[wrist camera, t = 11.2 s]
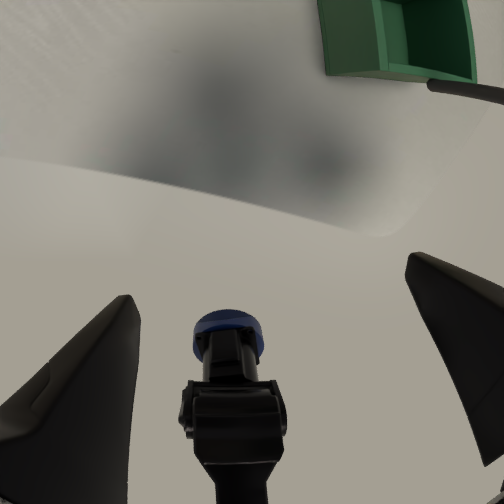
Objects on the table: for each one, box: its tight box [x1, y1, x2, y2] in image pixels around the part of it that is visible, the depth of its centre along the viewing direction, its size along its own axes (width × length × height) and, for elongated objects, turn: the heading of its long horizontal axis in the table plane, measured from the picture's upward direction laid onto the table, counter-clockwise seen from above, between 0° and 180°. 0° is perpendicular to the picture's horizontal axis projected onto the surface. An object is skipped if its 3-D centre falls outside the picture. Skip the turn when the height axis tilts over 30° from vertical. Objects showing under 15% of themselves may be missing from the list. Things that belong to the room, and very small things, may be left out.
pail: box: [317, 0, 504, 105], centre depth 9 cm, size 14×8×7 cm
